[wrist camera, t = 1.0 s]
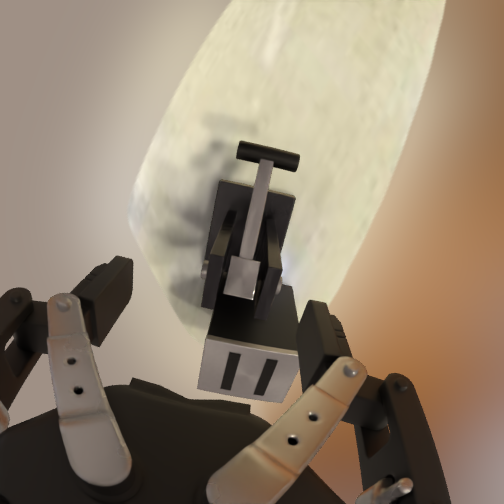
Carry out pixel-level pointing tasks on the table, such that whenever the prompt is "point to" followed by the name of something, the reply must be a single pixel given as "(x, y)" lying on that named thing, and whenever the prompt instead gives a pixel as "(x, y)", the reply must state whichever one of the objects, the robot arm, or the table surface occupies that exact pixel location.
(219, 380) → the toaster body
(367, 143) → the table surface
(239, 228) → the switch bracket
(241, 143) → the switch lever
